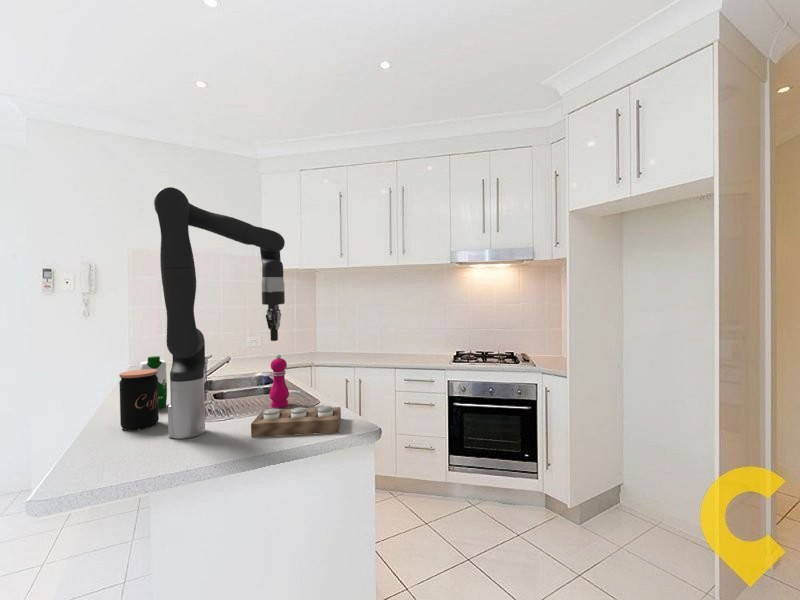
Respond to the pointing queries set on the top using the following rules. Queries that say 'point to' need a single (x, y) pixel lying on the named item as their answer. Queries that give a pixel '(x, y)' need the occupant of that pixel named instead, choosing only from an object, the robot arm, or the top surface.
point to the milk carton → (162, 377)
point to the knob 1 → (271, 414)
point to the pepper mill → (279, 383)
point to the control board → (296, 423)
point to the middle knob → (298, 412)
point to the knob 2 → (325, 411)
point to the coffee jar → (139, 399)
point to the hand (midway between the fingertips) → (274, 340)
